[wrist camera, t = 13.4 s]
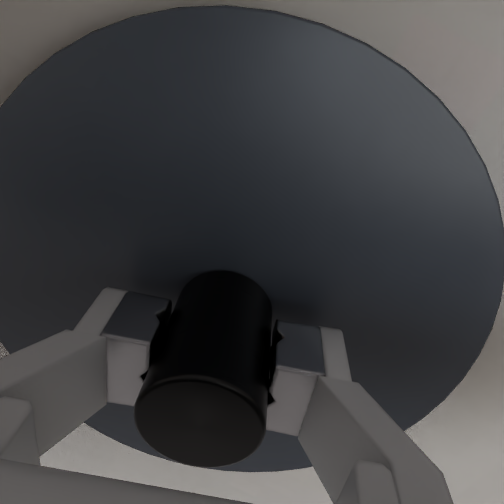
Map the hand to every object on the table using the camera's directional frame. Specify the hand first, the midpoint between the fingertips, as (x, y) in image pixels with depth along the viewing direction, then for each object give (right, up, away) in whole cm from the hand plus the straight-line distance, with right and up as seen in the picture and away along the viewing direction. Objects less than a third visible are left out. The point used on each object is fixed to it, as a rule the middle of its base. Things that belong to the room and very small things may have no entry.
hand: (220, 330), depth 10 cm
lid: (0, +1, +1) cm, 1 cm away
